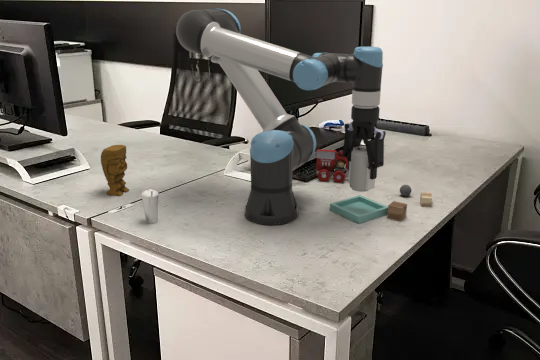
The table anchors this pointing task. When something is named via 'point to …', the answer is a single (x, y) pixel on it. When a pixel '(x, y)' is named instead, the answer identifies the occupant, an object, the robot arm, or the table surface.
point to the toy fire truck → (331, 165)
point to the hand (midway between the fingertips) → (361, 185)
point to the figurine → (114, 168)
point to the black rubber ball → (405, 190)
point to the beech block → (426, 199)
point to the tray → (359, 209)
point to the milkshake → (150, 205)
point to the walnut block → (397, 211)
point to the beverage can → (358, 169)
